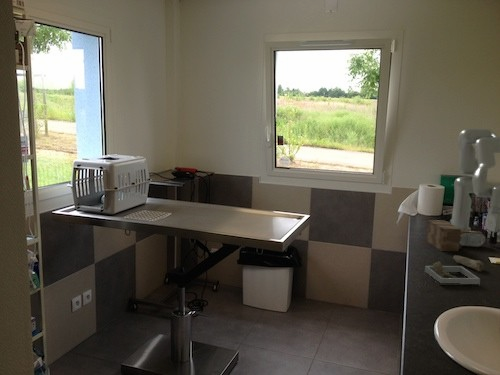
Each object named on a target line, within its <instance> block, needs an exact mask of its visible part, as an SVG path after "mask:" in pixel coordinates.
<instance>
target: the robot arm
mask: <svg viewBox="0 0 500 375" xmlns="http://www.w3.org/2000/svg"><path fill="white" fill-rule="evenodd" d="M457 142H458V149H459V154H458V166H457V168H458V172H459V173H460V174H461V175H471V176H458V177H457V178H455V180H454V181H453V182H454V184H453V187H454V188H453V189H454V197H453V207H452V213H451V219H450V220H449V223H450V224H452V225H454V226H456V227H458V228H460V229H461V230H471V231H472V228H471V227H470V226H469V225H470V219H471V218H470V217H471V210H472V209H471V208H472V197H471V196H470V194H474V195H475V196H476V197H477V198H490V201H489V208H488V211H487V214H486V217H485V222H484V228H485V229H486V230H487V231H488V232H489V234H488V235H489V238H488V243H489V244H491V245H496V244H497V240H498V237H499V236H500V183H491V182H489V183H488V173H489V172H488V170H490V169H492V168H494V167H495V166H496V165H497V164H496V163H497V161H496V157H495V154H500V136H499V135H498V134H497V133H495V131H493V130H491V129H487V128H485V129H484V128H465V129H463V130H462V131H460V132H459V135H458V141H457ZM473 144H474V145H475V146H474V145H473Z"/></svg>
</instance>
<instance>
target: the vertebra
mask: <svg viewBox="0 0 500 375" xmlns="http://www.w3.org/2000/svg"><path fill="white" fill-rule="evenodd" d="M432 266H434V267H435V270H436V271H434V272H435V273H437V274H438V275H439V276H440V277H442V278H447V277H451V278H458V277H457V276H455V275H452V274H451V273H449V272H448V271H446V270H445V269H443V266H444V265H443V263H441V261H440V260H439V261H437V262H435V263H433V265H432ZM447 272H448V273H447Z"/></svg>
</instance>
